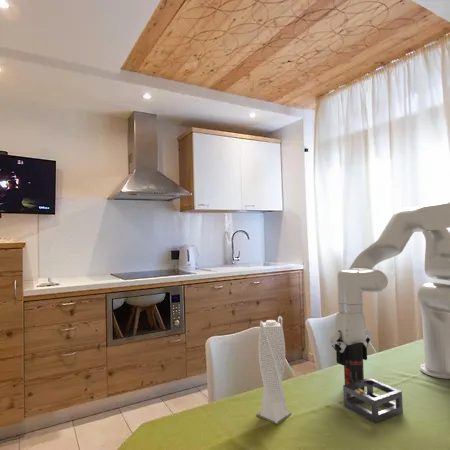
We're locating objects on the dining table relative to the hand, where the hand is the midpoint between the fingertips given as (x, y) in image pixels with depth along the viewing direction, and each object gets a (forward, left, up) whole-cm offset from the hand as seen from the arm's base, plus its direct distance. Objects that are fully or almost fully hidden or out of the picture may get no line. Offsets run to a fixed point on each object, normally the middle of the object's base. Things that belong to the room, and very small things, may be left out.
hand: (352, 361), depth 110 cm
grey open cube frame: (+6, +12, -9) cm, 16 cm away
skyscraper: (+32, +1, -9) cm, 33 cm away
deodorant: (0, 0, -9) cm, 9 cm away
